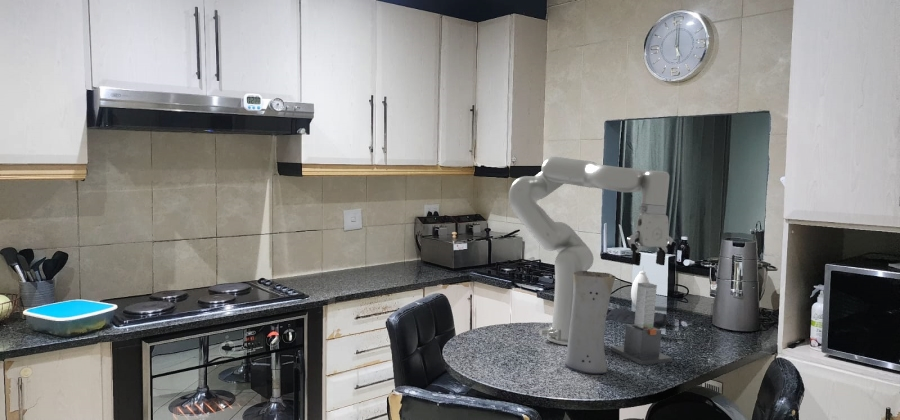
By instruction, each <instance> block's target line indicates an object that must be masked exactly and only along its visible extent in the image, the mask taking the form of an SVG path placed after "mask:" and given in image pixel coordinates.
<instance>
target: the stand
mask: <svg viewBox="0 0 900 420" xmlns="http://www.w3.org/2000/svg"><path fill="white" fill-rule="evenodd" d="M661 340H662V330H661V329H657V328H654V327H653V329H648V330H644V331H642V330H640V329H637V328H635V327H634V324H633V325H631V324H625V333H624V342H623V343H624V344H623V345H619V346H612V347H611V352H614V353H615V354H618V355H620V356H622V357H623V358H626V359H628V360H630V361H632V362H634V363H636V364H639V365H642V366H643V365H655V364H662V363H663V364H664V363H672V361H673V357H670V356H668V355H666V354H664V353H662V352H661V351H660V350H661Z"/></svg>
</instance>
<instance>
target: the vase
mask: <svg viewBox="0 0 900 420" xmlns="http://www.w3.org/2000/svg"><path fill="white" fill-rule="evenodd" d="M573 279H574V286H573V303H572V313H571V321H570V329H569V337H568V345H566V347H567V348H566V356H565V360H564V365H565V366H566V367H567V368H568V369H570V371H575V372H579V373H583V374H589V375H590V374H591V375H597V374H599V375H601V374H608V365H607V361H606V353H605V330H606V328H605V327H606V320H607V319H606V316H607V315H608V310H609V305H610V299H611V295H612V291H613V287H614V283H615V280H616V275H613V274H611V273H609V272H600V271H598V272H597V271H588V270H587V271H578V272H575V273H573Z"/></svg>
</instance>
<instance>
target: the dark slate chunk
mask: <svg viewBox="0 0 900 420" xmlns="http://www.w3.org/2000/svg"><path fill="white" fill-rule="evenodd" d="M635 312H636V310H635V311H633V310H629V309H624V308H618V307H615V308H613V309H612V310H610V311H609V312H607V315H606V320H608V321H613V322H617V323H622V324H625V325H633V324H634V323H635ZM667 317H668V315H667V314H666V313H662V312H658V311H657V312H654V323H653V327H654V328H657V329H659V330H661V329H662V328H664V327H666V326H667V324H668V320H667V319H668V318H667Z"/></svg>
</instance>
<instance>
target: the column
mask: <svg viewBox="0 0 900 420" xmlns="http://www.w3.org/2000/svg"><path fill="white" fill-rule="evenodd" d="M657 287H658V285H657V284H654V283H651V282H649V283H638V288H637V300H636V305H635V311H636V312H635V311H634V312H635V323H634V327H635V328H637V329H640V330H642V331H644V330H648V329H653V323H654V313H655V311H656V299H657Z"/></svg>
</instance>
